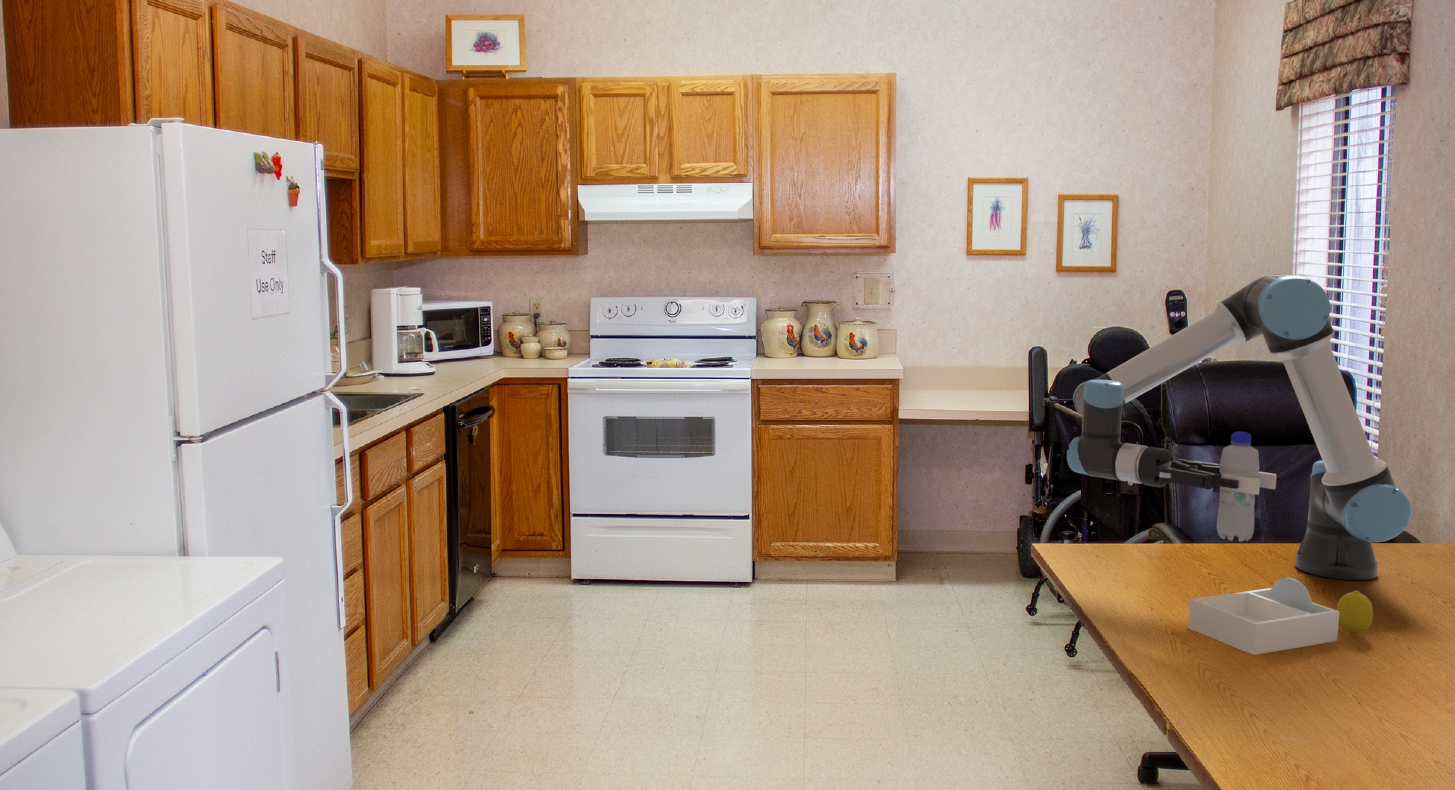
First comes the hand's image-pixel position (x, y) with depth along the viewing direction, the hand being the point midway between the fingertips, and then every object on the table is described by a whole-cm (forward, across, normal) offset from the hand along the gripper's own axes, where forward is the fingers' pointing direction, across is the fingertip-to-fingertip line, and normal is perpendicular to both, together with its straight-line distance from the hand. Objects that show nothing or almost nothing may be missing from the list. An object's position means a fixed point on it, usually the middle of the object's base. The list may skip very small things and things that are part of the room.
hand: (1266, 484), depth 201 cm
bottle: (-5, 0, -11) cm, 12 cm away
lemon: (+16, 0, -24) cm, 29 cm away
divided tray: (+6, +12, -24) cm, 27 cm away
